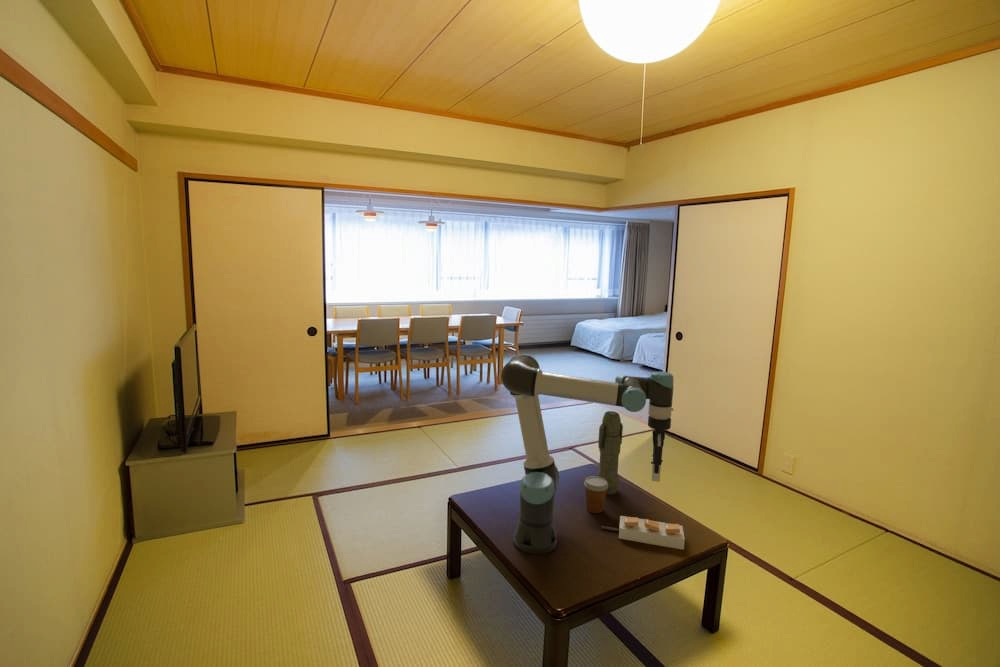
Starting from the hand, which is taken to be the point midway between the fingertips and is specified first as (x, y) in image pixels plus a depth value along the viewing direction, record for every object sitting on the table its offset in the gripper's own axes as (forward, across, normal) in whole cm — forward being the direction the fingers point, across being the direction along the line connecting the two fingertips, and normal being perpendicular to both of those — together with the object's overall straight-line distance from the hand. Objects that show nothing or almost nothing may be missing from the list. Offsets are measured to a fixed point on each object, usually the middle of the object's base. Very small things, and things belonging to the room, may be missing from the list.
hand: (655, 480), depth 167 cm
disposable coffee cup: (+22, +14, +21) cm, 34 cm away
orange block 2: (+17, -1, 0) cm, 17 cm away
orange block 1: (+17, -1, +7) cm, 18 cm away
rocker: (+17, -1, -7) cm, 18 cm away
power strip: (+22, +1, +4) cm, 22 cm away
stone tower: (+22, +33, +18) cm, 43 cm away
